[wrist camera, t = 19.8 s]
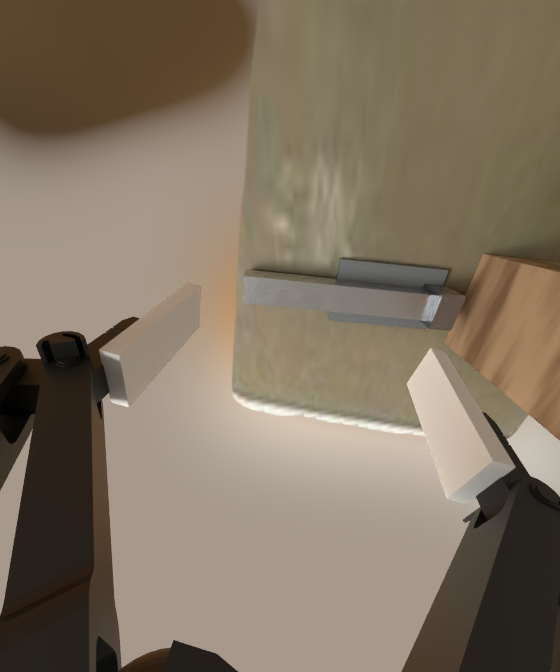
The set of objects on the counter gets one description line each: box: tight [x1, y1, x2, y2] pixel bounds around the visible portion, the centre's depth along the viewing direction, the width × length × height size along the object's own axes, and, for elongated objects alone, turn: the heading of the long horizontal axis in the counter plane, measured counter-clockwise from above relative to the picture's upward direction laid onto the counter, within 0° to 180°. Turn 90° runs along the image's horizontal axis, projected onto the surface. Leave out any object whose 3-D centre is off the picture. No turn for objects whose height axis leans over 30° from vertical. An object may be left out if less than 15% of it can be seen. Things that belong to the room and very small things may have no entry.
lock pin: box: [242, 270, 466, 331], centre depth 35 cm, size 28×5×5 cm, turn 84°
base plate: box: [328, 258, 449, 329], centre depth 38 cm, size 15×9×1 cm, turn 84°
